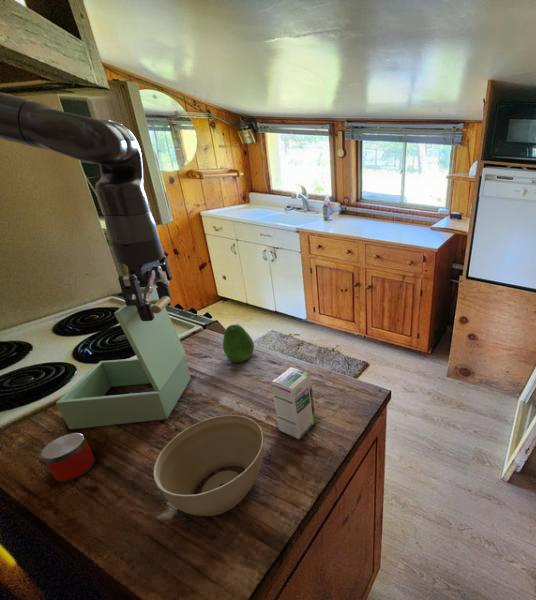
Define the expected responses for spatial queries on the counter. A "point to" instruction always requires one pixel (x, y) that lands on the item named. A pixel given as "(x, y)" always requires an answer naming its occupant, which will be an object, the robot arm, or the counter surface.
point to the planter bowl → (210, 464)
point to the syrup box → (294, 402)
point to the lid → (153, 339)
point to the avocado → (237, 343)
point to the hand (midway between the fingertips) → (157, 310)
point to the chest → (120, 408)
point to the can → (68, 457)
